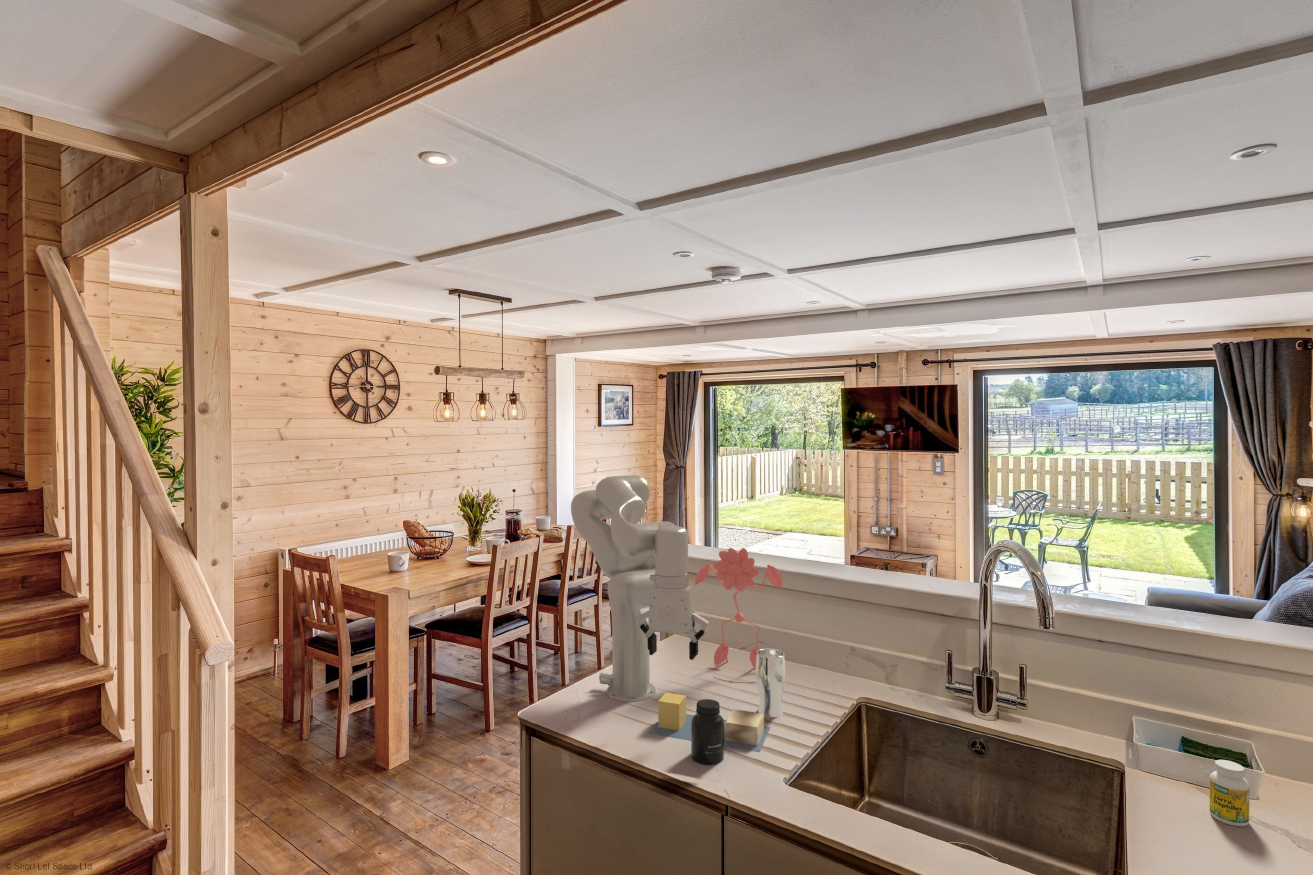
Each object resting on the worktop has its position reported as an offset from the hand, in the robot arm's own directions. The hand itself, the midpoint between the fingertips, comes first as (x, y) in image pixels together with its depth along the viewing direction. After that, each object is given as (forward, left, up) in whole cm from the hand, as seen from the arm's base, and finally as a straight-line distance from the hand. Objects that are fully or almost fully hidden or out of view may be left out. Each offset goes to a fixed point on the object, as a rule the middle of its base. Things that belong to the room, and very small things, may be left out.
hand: (672, 655), depth 155 cm
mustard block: (0, 0, -16) cm, 16 cm away
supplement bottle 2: (+104, 0, -17) cm, 105 cm away
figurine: (+5, +38, -17) cm, 42 cm away
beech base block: (+17, 0, -16) cm, 23 cm away
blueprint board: (+9, 0, -17) cm, 19 cm away
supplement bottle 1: (+11, -11, -17) cm, 24 cm away
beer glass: (+20, +14, -17) cm, 30 cm away
